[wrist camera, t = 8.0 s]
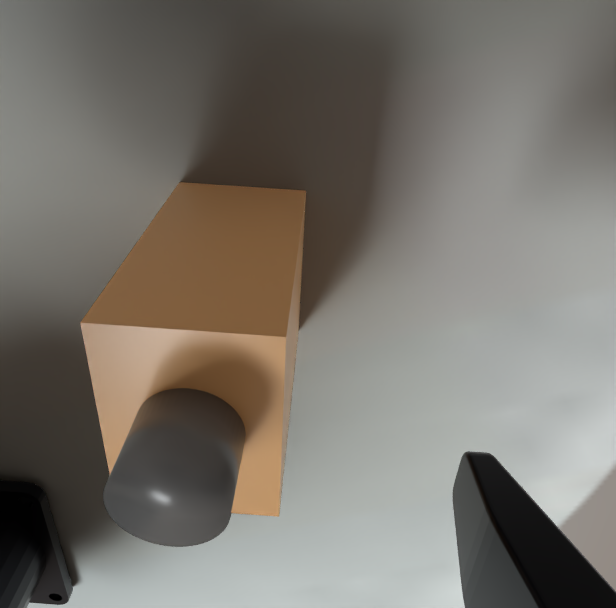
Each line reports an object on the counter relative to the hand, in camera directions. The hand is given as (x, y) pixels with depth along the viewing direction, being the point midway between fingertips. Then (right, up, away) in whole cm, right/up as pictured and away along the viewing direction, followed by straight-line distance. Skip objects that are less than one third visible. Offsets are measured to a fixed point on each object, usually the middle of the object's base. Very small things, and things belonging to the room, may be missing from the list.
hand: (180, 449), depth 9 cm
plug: (0, +3, +5) cm, 6 cm away
